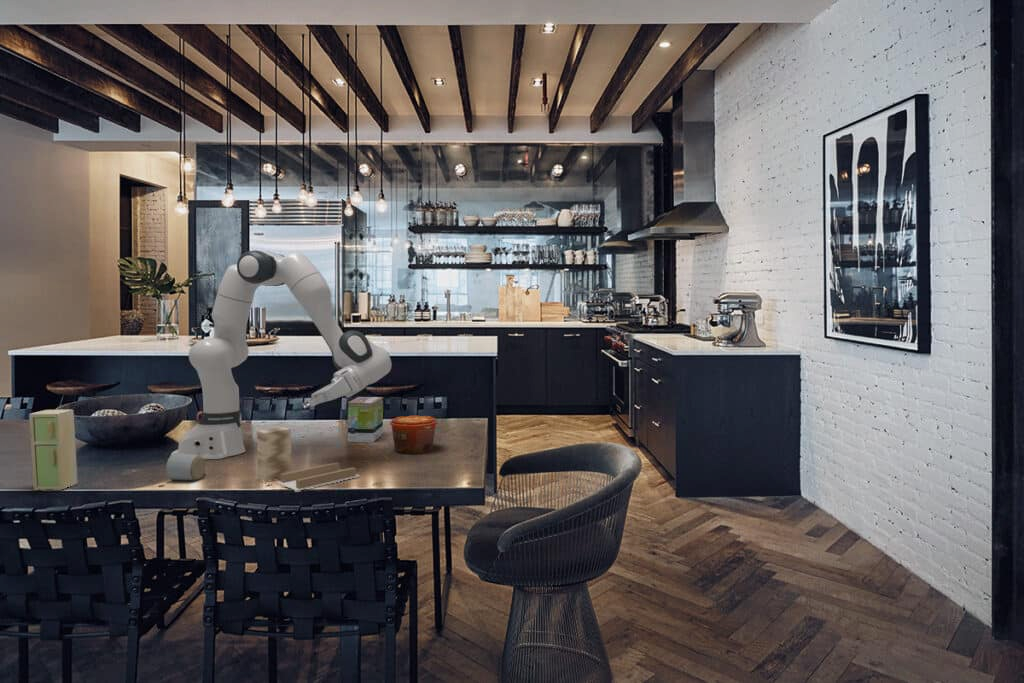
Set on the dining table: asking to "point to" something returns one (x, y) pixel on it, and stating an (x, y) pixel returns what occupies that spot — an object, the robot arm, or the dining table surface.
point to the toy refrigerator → (53, 449)
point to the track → (316, 476)
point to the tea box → (365, 419)
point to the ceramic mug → (185, 467)
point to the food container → (413, 434)
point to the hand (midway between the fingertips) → (306, 405)
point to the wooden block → (273, 453)
